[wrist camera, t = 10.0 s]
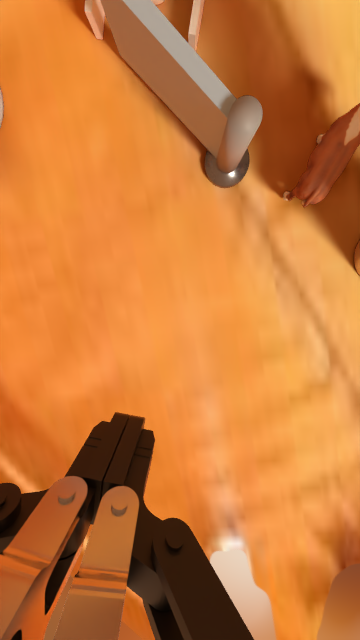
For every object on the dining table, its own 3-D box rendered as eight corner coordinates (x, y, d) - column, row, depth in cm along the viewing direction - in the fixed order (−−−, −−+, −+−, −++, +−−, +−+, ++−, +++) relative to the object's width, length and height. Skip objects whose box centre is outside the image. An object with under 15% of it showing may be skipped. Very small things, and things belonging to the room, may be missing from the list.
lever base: (253, 143, 32) (254, 140, 31) (241, 191, 34) (242, 190, 33) (209, 134, 32) (210, 131, 31) (200, 183, 34) (200, 181, 33)
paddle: (243, 160, 32) (269, 113, 21) (227, 178, 32) (244, 143, 22) (131, 36, 29) (97, -89, 18) (116, 60, 29) (74, -48, 19)
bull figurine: (362, 126, 31) (421, 83, 23) (295, 219, 34) (325, 209, 27) (337, 105, 31) (388, 54, 23) (271, 201, 34) (295, 186, 26)
